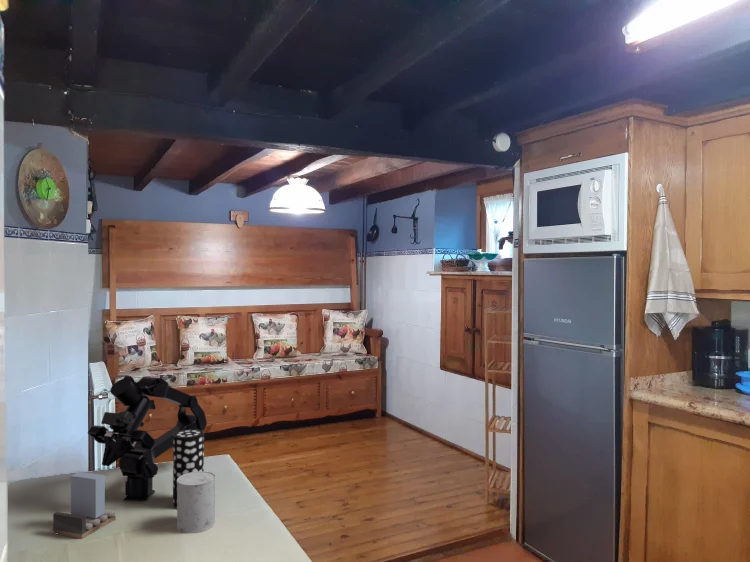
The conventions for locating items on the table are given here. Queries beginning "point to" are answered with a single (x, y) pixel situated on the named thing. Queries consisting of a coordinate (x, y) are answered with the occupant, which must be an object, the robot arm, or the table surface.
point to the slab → (88, 494)
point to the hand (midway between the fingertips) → (104, 465)
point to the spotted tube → (187, 455)
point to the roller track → (79, 523)
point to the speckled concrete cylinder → (195, 502)
